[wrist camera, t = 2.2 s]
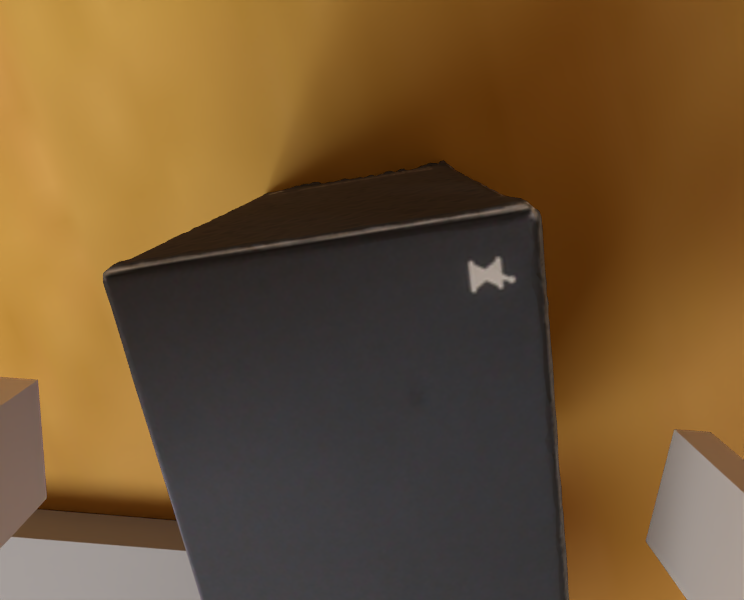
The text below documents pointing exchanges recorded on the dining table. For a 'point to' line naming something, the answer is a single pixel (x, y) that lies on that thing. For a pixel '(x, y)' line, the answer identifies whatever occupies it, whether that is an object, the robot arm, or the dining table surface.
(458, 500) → the small box
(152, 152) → the dining table surface
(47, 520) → the board
